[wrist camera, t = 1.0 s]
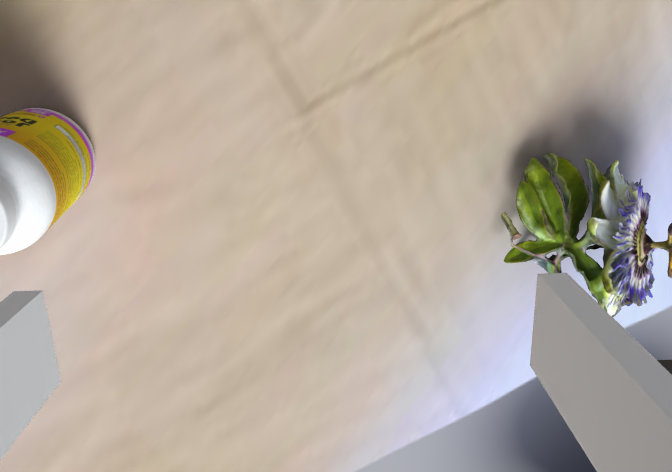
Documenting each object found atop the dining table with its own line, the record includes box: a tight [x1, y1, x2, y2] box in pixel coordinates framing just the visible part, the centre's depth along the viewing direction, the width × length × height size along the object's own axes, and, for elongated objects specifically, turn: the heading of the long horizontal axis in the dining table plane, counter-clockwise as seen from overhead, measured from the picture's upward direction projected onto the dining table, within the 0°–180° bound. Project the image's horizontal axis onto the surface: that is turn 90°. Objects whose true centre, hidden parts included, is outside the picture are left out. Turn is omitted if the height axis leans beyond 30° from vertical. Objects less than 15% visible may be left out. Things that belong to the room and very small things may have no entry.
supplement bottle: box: [0, 108, 95, 255], centre depth 34 cm, size 7×7×13 cm
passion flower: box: [501, 153, 672, 317], centre depth 43 cm, size 11×11×12 cm
